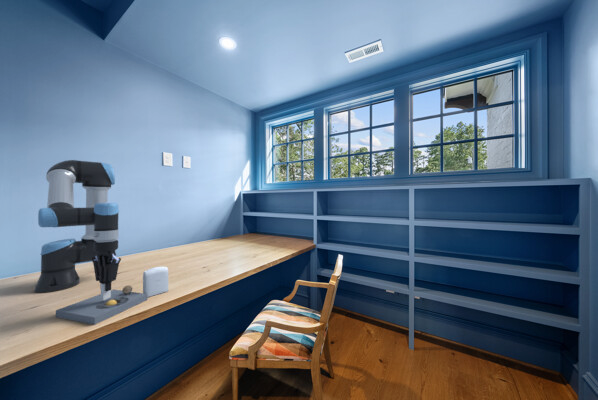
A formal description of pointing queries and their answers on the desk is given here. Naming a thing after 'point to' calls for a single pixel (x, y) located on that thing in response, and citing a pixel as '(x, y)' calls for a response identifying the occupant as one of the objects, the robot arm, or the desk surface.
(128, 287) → the cork ball
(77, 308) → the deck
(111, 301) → the ball
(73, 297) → the desk surface
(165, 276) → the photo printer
